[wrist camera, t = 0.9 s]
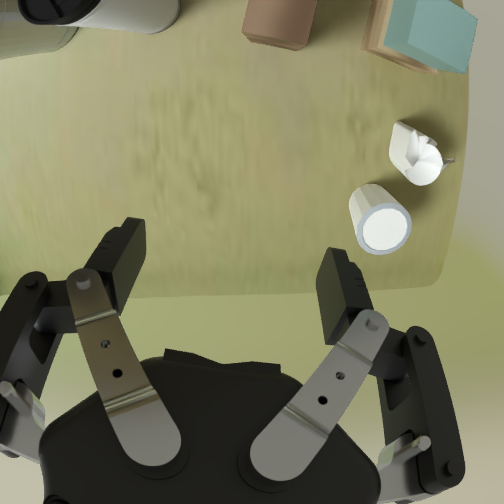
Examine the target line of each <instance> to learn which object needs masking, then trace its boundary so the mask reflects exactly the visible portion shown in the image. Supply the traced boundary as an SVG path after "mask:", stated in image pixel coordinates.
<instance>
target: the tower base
mask: <svg viewBox="0 0 504 504" xmlns="http://www.w3.org/2000/svg"><path fill="white" fill-rule="evenodd" d="M393 1H394V0H373V1H372V5H371V10H370V14H369V18H368V22H367V26H366V30H365V34H364V38H363V42H362V46H361V50H364V51H367V52H369V53H372V54H375V55H377V56H380V57H382V58H385V59H387V60H390V61H392V62H395V63H397V64H399V65H402V66H404V67H406V68H408V69H411V70H413V71H417V72H424V73H430V74H436V75H437V74H438V70H437V69H433V68H431V67H429V66H427V65H425V64H423V63H421V62H419V61H417V60H415V59H413V58H411V57H409V56H406V55H404V54H402V53H400V52H397V51H395V50H393V49H390V48H388V47H386V46H383V42H384V38H385V34H386V30H387V26H388V22H389V18H390V14H391V9H392V5H393Z"/></svg>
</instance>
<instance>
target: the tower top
mask: <svg viewBox="0 0 504 504" xmlns="http://www.w3.org/2000/svg"><path fill="white" fill-rule="evenodd" d="M477 20H478V19H477V18H475V17H474V16H473V15H471V14H470V13H468V12H467V11H465V10H464V9H462V8H461V7H459V6H457V5H456V4H454V3H452V2H451V1H449V0H394V1H393V5H392V9H391V14H390V18H389V22H388V26H387V30H386V34H385V38H384V42H383V46H386V47H388V48H390V49H393V50H395V51H397V52H400V53H402V54H404V55H406V56H409V57H411V58H413V59H415V60H417V61H419V62H421V63H423V64H425V65H427V66H429V67H431V68H433V69H437V70H444V71H450V72H456V73H462V74H466V70H467V67H468V63H469V58H470V54H471V50H472V45H473V40H474V36H475V31H476V25H477Z"/></svg>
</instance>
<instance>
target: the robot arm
mask: <svg viewBox="0 0 504 504" xmlns="http://www.w3.org/2000/svg"><path fill="white" fill-rule="evenodd" d="M77 28H78V26H57V25H35V24H32V23H30V22H28V21H27V20H25V19H24V17H23V16H22V15H21V13H20V11H19V8H18V2H17V0H0V60H1V59H7V58H12V57H18V56H24V55H31V54H38V53H46V52H53V51H56V50H58V49H60V48H61V47H63V46H64V45H65V44H66V43H67V42H68V41H69V40H70V39H71V38H72V36H73V35H74V33H75V32H76V30H77ZM145 256H146V230H145V220H144V219H139V218H132V217H127V218H126V220H125V221H124V223H123V224H122V226H121V227H114V228H112V229H111V230H110V231H108V232H107V233H106V234H105V235H104V237H103V238H102V240H101V242H100V243H99V244H98V246H97V248H96V249H95V250H94V252H93V254H92V255H91V257H90V258H89V260H88V261H87V263H86V264H85V266H84V268H81V269H78V270H76V271H74V272H72V273H71V274H70V275H69V276H68V278H67V280H63V281H49V282H48V279H47V277H46V275H45V274H44V273H42V272H38V271H34V272H30V273H27V274H25V275H24V276H23V277H21V278H20V280H19V281H18V283H17V284H16V286H15V287H14V289H13V291H12V292H11V294H10V296H9V297H8V299H7V301H6V302H5V304H4V306H3V308H2V309H1V311H0V452H2V453H3V454H5V455H6V456H8V457H11V458H17V457H19V456H22V457H24V458H26V459H29V460H31V461H33V462H36V463H38V464H40V466H41V470H42V475H43V481H44V501H43V504H382V503H389V502H395V503H397V504H408V503H412V502H415V501H420V500H423V499H426V498H429V497H432V496H434V495H437V494H439V493H441V492H442V491H444V490H447V489H449V488H452V487H454V486H456V485H458V484H459V483H460V482H461V481H462V479H463V477H464V474H465V461H464V456H463V450H462V444H461V439H460V435H459V430H458V425H457V421H456V416H455V412H454V408H453V404H452V400H451V396H450V392H449V389H448V385H447V381H446V378H445V374H444V371H443V368H442V364H441V362H440V358H439V355H438V352H437V349H436V346H435V343H434V340H433V338H432V336H431V334H430V333H429V332H428V331H427V330H425V329H424V328H422V327H419V326H412V327H410V328H409V329H408V330H407V332H406V333H404V332H401V331H398V330H395V329H393V328H390V327H389V323H388V321H387V320H386V318H385V317H384V316H383V315H382V314H380V313H378V312H377V311H374V308H373V305H372V302H371V299H370V296H369V293H368V290H367V288H366V284H365V281H364V278H363V275H362V272H361V270H360V269H359V268H358V267H357V265H356V264H355V263H354V262H349V259H348V256H347V253H346V251H345V250H343V249H337V248H331V247H329V248H328V249H327V250H326V253H325V255H324V258H323V261H322V263H321V266H320V268H319V271H318V274H317V278H316V290H317V296H318V302H319V307H320V313H321V320H322V326H323V333H324V339H325V344H326V345H334V347H333V349H332V350H331V351H330V352H329V354H328V355H327V356H326V358H325V359H324V360H323V362H322V363H321V364H320V365H319V367H318V368H317V369H316V371H315V372H314V373H313V374H312V376H311V377H310V378H309V379H308V380H307V382H306V383H305V384H304V385H302V384H301V383H300V382H299V381H297V380H296V379H294V378H292V377H290V376H288V375H286V374H284V373H281V370H280V369H281V366H280V364H273V363H263V362H253V361H251V362H242V363H231V364H220V363H218V362H215V361H212V360H209V359H207V358H204V357H202V356H199V355H197V354H194V353H189V352H183V351H177V350H172V349H165V352H164V356H162V357H153V358H149V359H145V360H143V361H141V362H139V360H138V358H137V356H136V354H135V352H134V350H133V348H132V346H131V344H130V342H129V339H128V337H127V335H126V333H125V331H124V328H123V326H122V324H121V322H120V319H119V317H118V316H121V313H122V311H123V308H124V306H125V304H126V301H127V299H128V297H129V294H130V292H131V290H132V287H133V285H134V283H135V280H136V278H137V276H138V274H139V272H140V269H141V267H142V265H143V263H144V260H145ZM64 333H78V335H79V338H80V341H81V345H82V348H83V351H84V354H85V357H86V360H87V362H88V365H89V368H90V371H91V374H92V376H93V379H94V382H95V384H96V387H97V389H98V390H97V391H96V392H95V393H93V394H92V395H90V396H89V397H88V398H86V399H85V400H83V401H82V402H80V403H79V404H77V405H76V406H74V407H73V408H72V409H70V410H69V411H67V412H66V413H64V414H63V415H61V416H60V417H58V418H57V419H56V420H54V421H53V422H52V423H50V424H49V425H48V426H47V427H46V428H45V423H44V420H45V410H44V407H43V405H42V403H41V402H40V401H39V399H40V397H41V393H42V390H43V387H44V384H45V381H46V379H47V375H48V373H49V370H50V367H51V364H52V362H53V359H54V357H55V354H56V351H57V349H58V346H59V344H60V341H61V339H62V336H63V334H64ZM367 374H370V375H373V376H376V378H377V384H378V390H379V397H380V404H381V412H382V418H383V427H384V436H385V445H386V446H385V447H384V448H383V449H382V450H381V452H380V453H379V456H378V463H377V468H376V466H375V464H374V463H373V462H372V461H371V460H370V458H368V456H367V455H366V454H365V453H364V452H363V451H362V450H361V449H360V448H359V447H358V446H357V445H356V443H355V442H354V441H353V440H352V439H351V438H350V437H349V436H348V435H347V433H346V432H345V431H344V430H343V429H342V428H341V427H340V426H339V425H338V423H337V422H338V421H339V419H340V418H341V416H342V415H343V413H344V412H345V410H346V409H347V407H348V405H349V404H350V402H351V401H352V399H353V397H354V396H355V394H356V393H357V391H358V389H359V388H360V386H361V384H362V383H363V381H364V379H365V377H366V376H367ZM408 377H409V378H408Z"/></svg>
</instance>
